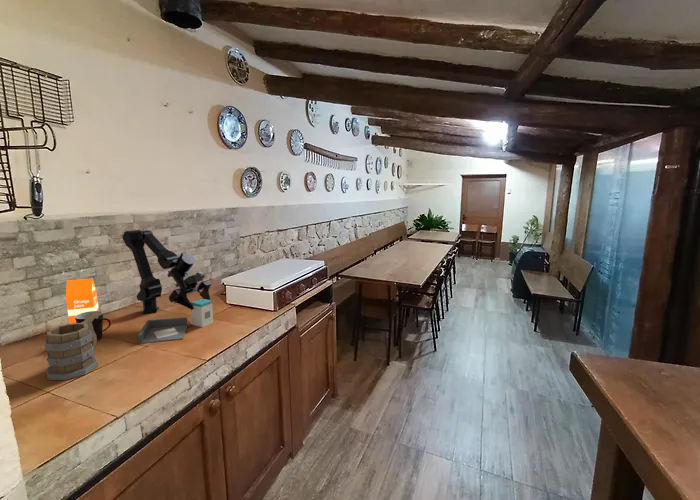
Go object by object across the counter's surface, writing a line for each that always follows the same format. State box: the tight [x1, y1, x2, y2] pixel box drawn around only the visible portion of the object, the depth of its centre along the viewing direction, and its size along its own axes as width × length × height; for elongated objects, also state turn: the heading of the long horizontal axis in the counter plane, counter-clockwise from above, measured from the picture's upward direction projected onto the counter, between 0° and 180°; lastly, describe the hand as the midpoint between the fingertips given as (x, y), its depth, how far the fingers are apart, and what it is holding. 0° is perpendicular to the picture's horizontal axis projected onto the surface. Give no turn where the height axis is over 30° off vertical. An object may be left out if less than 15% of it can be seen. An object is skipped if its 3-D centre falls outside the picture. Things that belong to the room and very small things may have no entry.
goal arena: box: [137, 316, 189, 345], centre depth 140 cm, size 15×15×4 cm
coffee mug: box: [75, 310, 112, 342], centre depth 132 cm, size 12×9×10 cm
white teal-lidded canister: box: [190, 298, 214, 328], centre depth 150 cm, size 6×6×10 cm
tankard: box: [43, 313, 99, 381], centre depth 114 cm, size 20×13×15 cm, turn 179°
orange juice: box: [65, 278, 100, 324], centre depth 146 cm, size 8×9×20 cm
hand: (201, 306), depth 150 cm, fingers open, 9 cm apart
